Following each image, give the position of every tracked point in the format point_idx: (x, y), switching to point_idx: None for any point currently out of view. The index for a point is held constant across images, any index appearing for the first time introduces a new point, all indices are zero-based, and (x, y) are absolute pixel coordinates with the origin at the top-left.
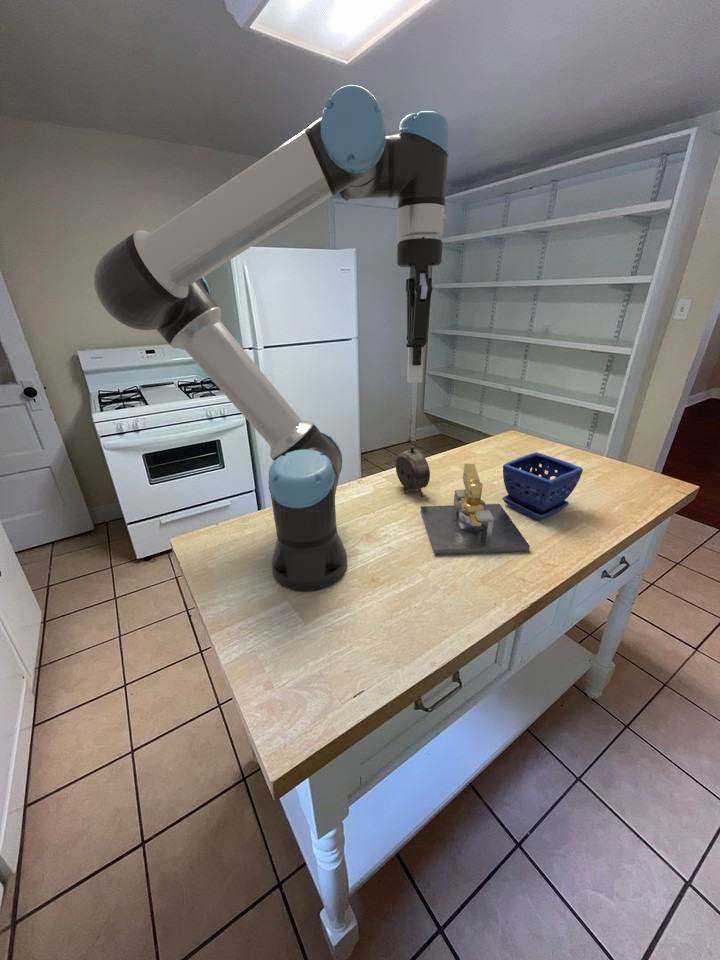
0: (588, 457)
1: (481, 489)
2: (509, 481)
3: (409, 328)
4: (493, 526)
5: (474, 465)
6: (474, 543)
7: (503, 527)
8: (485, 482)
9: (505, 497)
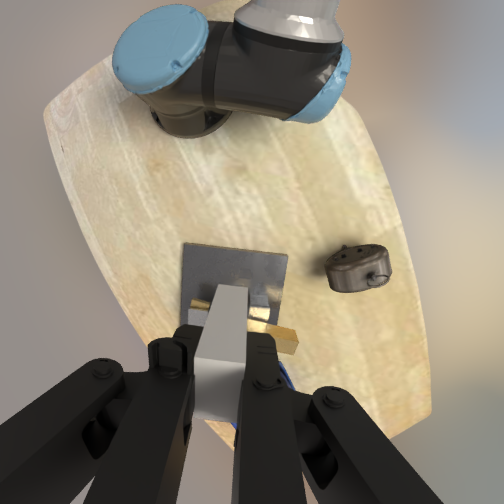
0: None
1: None
2: None
3: (248, 452)
4: None
5: (287, 353)
6: (190, 292)
7: None
8: (338, 359)
9: (279, 365)
